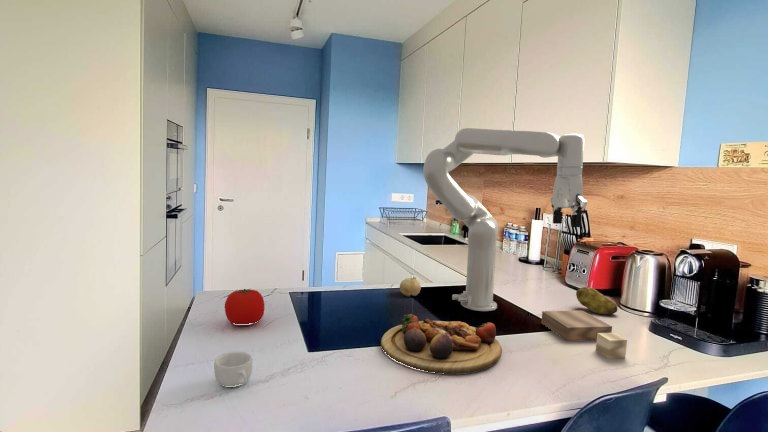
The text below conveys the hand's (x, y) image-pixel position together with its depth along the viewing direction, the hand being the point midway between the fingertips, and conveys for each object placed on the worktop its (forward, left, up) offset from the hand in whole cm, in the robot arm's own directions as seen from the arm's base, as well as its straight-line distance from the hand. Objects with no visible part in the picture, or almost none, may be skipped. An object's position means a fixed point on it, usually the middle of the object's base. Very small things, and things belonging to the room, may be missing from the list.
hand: (566, 225), depth 138 cm
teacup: (-98, -37, -31) cm, 109 cm away
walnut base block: (-3, -13, -31) cm, 34 cm away
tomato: (-102, -1, -31) cm, 106 cm away
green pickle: (+16, +4, -31) cm, 35 cm away
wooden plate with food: (-48, -21, -32) cm, 61 cm away
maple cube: (-3, -29, -31) cm, 43 cm away
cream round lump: (-46, +26, -31) cm, 61 cm away
